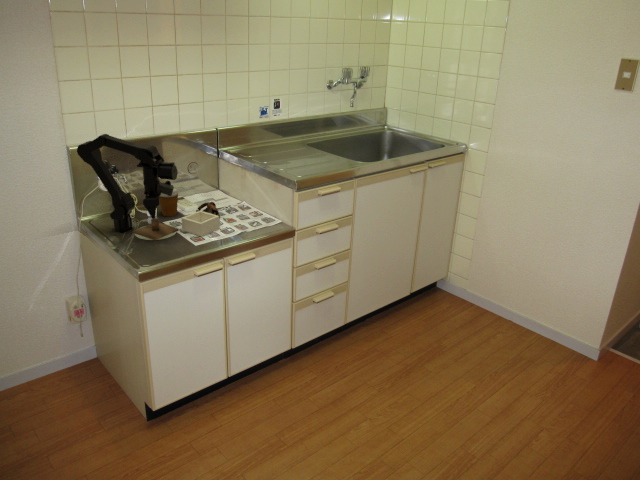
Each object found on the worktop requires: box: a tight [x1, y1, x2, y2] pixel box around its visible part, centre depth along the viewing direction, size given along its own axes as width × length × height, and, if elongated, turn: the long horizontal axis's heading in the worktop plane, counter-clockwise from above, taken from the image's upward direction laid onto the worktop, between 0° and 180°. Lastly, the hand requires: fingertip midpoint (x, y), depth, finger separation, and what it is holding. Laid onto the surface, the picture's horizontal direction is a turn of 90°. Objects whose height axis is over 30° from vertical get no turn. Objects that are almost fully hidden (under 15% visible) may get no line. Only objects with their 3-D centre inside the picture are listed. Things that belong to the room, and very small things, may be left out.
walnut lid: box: [132, 217, 180, 241], centre depth 225 cm, size 13×13×5 cm
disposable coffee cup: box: [159, 186, 180, 217], centre depth 243 cm, size 10×10×12 cm
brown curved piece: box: [195, 201, 221, 220], centre depth 243 cm, size 12×10×8 cm
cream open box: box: [180, 210, 221, 237], centre depth 229 cm, size 11×11×6 cm
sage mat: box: [134, 223, 178, 241], centre depth 226 cm, size 17×17×1 cm
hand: (154, 214), depth 223 cm, fingers open, 9 cm apart
